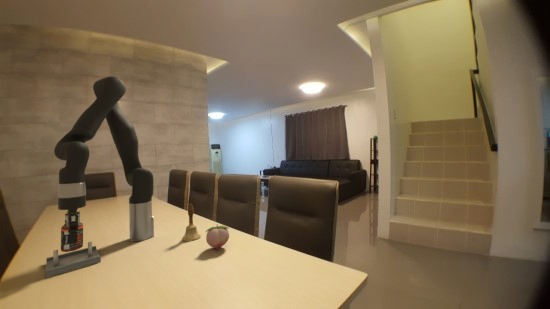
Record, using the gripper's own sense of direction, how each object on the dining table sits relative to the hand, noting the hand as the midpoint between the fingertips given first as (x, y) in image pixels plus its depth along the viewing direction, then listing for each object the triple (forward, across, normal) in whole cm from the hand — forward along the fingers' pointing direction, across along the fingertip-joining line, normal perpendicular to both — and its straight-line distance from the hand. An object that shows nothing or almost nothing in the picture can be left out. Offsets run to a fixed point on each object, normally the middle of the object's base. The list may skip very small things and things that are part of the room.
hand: (72, 240), depth 78 cm
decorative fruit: (+8, -30, -42) cm, 53 cm away
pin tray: (+8, 0, 0) cm, 8 cm away
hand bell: (+8, -10, -40) cm, 42 cm away
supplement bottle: (+3, 0, 0) cm, 3 cm away
